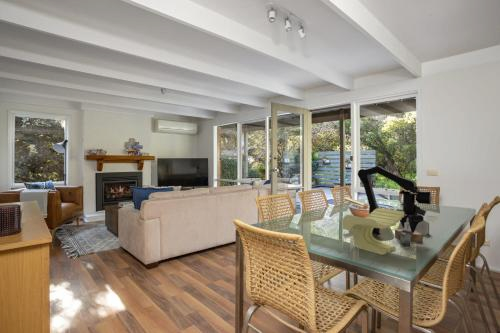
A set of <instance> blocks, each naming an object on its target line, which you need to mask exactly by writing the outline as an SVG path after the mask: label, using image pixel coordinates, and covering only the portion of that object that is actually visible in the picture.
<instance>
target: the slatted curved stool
mask: <svg viewBox="0 0 500 333" xmlns="http://www.w3.org/2000/svg"><path fill="white" fill-rule="evenodd" d="M396 210H397V209H388V208H383V207H382V208H380V207H379V208H377V209H375V210H374V211H373V212H371V213H370V214H369V213H368V215H367V216H365V217H361V216H356V215H351V214H346V215H344V216H343V218H342V230H346V231H352V235H353V237H352V238H353V244H354V246H355V247H357V249H361V250H365V251H367V252H371V253H374V254H379V255H382V256H383V255H386V254H388V253H391V252H393V251H395V250H396V246H395V245H394V244H389V243H386V242H383V241H380V240H378V239H377V238H375V237H374V235H373V234H372V231H373V229H374V228H380V229H381V230H384V229H387V228H388V229H389V228H391V227H393V226H397V224H399V223H400V220H402V218H403V217H404V212H403V211H396Z"/></svg>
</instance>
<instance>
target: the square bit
mask: <svg viewBox="0 0 500 333" xmlns="http://www.w3.org/2000/svg"><path fill="white" fill-rule="evenodd" d="M404 232H406V233H413V232H411V229H410V225H409V222H404Z"/></svg>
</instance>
